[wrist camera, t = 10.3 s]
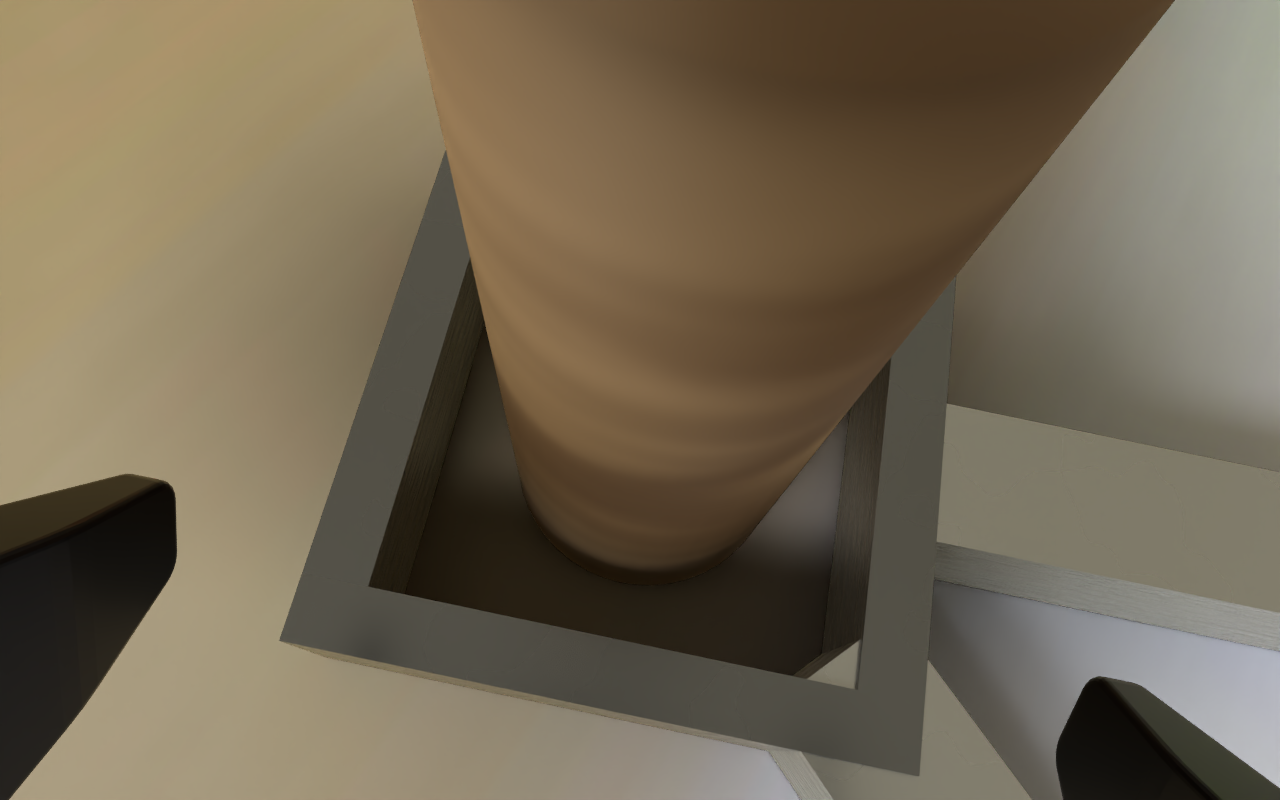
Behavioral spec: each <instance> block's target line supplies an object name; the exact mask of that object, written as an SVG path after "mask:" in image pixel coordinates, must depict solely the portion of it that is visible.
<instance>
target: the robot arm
mask: <svg viewBox="0 0 1280 800" xmlns="http://www.w3.org/2000/svg"><path fill="white" fill-rule="evenodd" d="M176 557H177V534H176V498H175V492H174V490H173V487H172V486H171V485H170V484H169V483H168V482H166V481H163V480H158V479H153V478H149V477H144V476H139V475H134V474H123V475H119V476H115V477H111V478H107V479H103V480H99V481H95V482H91V483H87V484H83V485H79V486H75V487H71V488H67V489H63V490H59V491H55V492H51V493H47V494H43V495H39V496H36V497H32V498H28V499H24V500H20V501H16V502H12V503H8V504H4V505H0V800H9V799H10V798H11V796H12V795H13V794H14V793H15V792H16V790H17V789H18V788H19V787H20V785H21V784H22V783H23V782H24V781H25V779H26V778H27V777H28V776H29V775H30V773H31V772H32V771H33V770H34V768H35V767H36V766H37V765H38V764H39V762H40V761H41V760H42V759H43V757H44V756H45V755H46V754H47V753H48V751H49V750H50V749H51V748H52V746H53V745H54V744H55V743H56V742H57V740H58V739H59V738H60V737H61V735H62V734H63V733H64V732H65V731H66V729H67V728H68V727H69V725H70V724H71V723H72V722H73V720H74V719H75V718H76V717H77V715H78V714H79V713H80V711H81V710H82V709H83V707H84V706H85V705H86V703H87V702H88V700H89V699H90V698H91V696H92V695H93V693H94V692H95V690H96V689H97V688H98V686H99V685H100V683H101V682H102V680H103V679H104V677H105V676H106V674H107V673H108V671H109V670H110V668H111V666H112V665H113V663H114V662H115V660H116V659H117V657H118V656H119V654H120V653H121V651H122V650H123V648H124V647H125V645H126V644H127V642H128V641H129V639H130V638H131V636H132V635H133V633H134V632H135V630H136V629H137V627H138V626H139V624H140V623H141V621H142V619H143V618H144V616H145V615H146V613H147V612H148V610H149V609H150V607H151V606H152V604H153V603H154V601H155V600H156V598H157V597H158V595H159V594H160V592H161V591H162V589H163V588H164V586H165V585H166V583H167V582H168V580H169V578H170V576H171V574H172V572H173V569H174V566H175V563H176ZM1056 766H1057V772H1058V776H1059V781H1060V786H1061V791H1062V796H1063V800H1280V788H1279V787H1277V786H1276V785H1275V784H1273V783H1272V782H1271V781H1269V780H1268V779H1266V778H1265V777H1264V776H1262V775H1261V774H1260V773H1258V772H1257V771H1256V770H1254V769H1253V768H1252V767H1250V766H1249V765H1248V764H1246V763H1245V762H1244V761H1242V760H1241V759H1239V758H1238V757H1237V756H1235V755H1234V754H1233V753H1231V752H1230V751H1229V750H1227V749H1226V748H1225V747H1223V746H1222V745H1221V744H1219V743H1218V742H1217V741H1215V740H1214V739H1212V738H1211V737H1210V736H1208V735H1207V734H1206V733H1204V732H1203V731H1202V730H1200V729H1199V728H1198V727H1196V726H1195V725H1194V724H1192V723H1191V722H1190V721H1188V720H1187V719H1185V718H1184V717H1183V716H1181V715H1180V714H1179V713H1177V712H1176V711H1175V710H1173V709H1172V708H1171V707H1169V706H1168V705H1167V704H1165V703H1164V702H1163V701H1161V700H1160V699H1159V698H1157V697H1156V696H1154V695H1153V694H1152V693H1150V692H1149V691H1148V690H1146V689H1145V688H1143V687H1142V686H1140V685H1138V684H1135V683H1131V682H1126V681H1121V680H1117V679H1112V678H1107V677H1101V676H1098V677H1095V678H1092V679H1090V680H1089V681H1088V682H1087V683H1086V685H1085V686H1084V688H1083V690H1082V692H1081V694H1080V696H1079V698H1078V700H1077V702H1076V704H1075V706H1074V708H1073V711H1072V713H1071V715H1070V717H1069V719H1068V721H1067V723H1066V725H1065V727H1064V729H1063V731H1062V733H1061V736H1060V738H1059V741H1058V745H1057V749H1056Z"/></svg>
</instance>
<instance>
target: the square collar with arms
mask: <svg viewBox="0 0 1280 800" xmlns="http://www.w3.org/2000/svg"><path fill="white" fill-rule="evenodd" d="M955 285H956V276H955V277H954V279H953V280H952V281H951V282H950V284H949V285H948V286H947V287H946V289H945V290H944V291H943V292H942V294H941V295H940V296H939V297H938V299H937V300H936V301H935V302H934V304H933V305H932V306H931V308H930V309H929V310H928V311H927V313H926V314H925V315H924V316H923V318H922V319H921V320H920V321H919V323H918V324H917V325H916V326H915V328H914V329H913V330H912V331H911V333H910V334H909V335H908V336H907V338H906V339H905V340H904V341H903V343H902V344H901V345H900V347H899V348H898V349H897V350H896V352H895V353H894V354H893V355H892V357H891V358H890V359H889V360H888V362H887V363H886V364H885V365H884V367H883V368H882V369H881V370H880V372H879V373H878V374H877V375H876V377H875V378H874V379H873V380H872V382H871V383H870V384H869V385H868V387H867V388H866V389H865V391H864V392H863V393H862V394H861V396H860V397H859V398H858V399H857V401H856V402H855V403H854V404H853V406H852V407H851V408H850V414H849V422H848V431H847V439H846V448H845V456H844V465H843V474H842V482H841V491H840V499H839V508H838V516H837V525H836V533H835V542H834V550H833V559H832V568H831V576H830V585H829V593H828V602H827V610H826V619H825V627H824V636H823V645H822V653H821V655H820V656H818V657H817V658H816V659H814V660H813V661H812V662H810V663H809V664H807V665H806V666H805V667H803V668H802V669H801V670H799V671H798V672H797V673H795V674H794V675H792V676H789V675H785V674H780V673H775V672H770V671H766V670H761V669H756V668H751V667H747V666H742V665H737V664H732V663H728V662H723V661H718V660H713V659H709V658H704V657H699V656H694V655H690V654H685V653H680V652H676V651H671V650H666V649H661V648H657V647H652V646H647V645H642V644H638V643H633V642H628V641H623V640H619V639H614V638H609V637H604V636H600V635H595V634H590V633H585V632H581V631H576V630H571V629H566V628H562V627H557V626H552V625H547V624H543V623H538V622H533V621H529V620H524V619H519V618H514V617H510V616H505V615H500V614H495V613H491V612H486V611H481V610H476V609H472V608H467V607H462V606H457V605H453V604H448V603H443V602H438V601H434V600H429V599H424V598H419V597H415V596H410V595H405V591H406V588H407V584H408V581H409V577H410V574H411V571H412V567H413V564H414V560H415V557H416V554H417V550H418V547H419V543H420V540H421V537H422V533H423V530H424V526H425V523H426V520H427V516H428V513H429V509H430V506H431V502H432V499H433V496H434V492H435V489H436V485H437V482H438V479H439V475H440V472H441V468H442V465H443V462H444V458H445V455H446V451H447V448H448V445H449V441H450V438H451V434H452V431H453V428H454V424H455V421H456V417H457V414H458V411H459V407H460V404H461V400H462V397H463V393H464V390H465V387H466V383H467V380H468V376H469V373H470V370H471V366H472V363H473V359H474V356H475V353H476V349H477V346H478V342H479V339H480V336H481V332H482V329H483V325H484V322H485V321H484V316H483V312H482V307H481V303H480V298H479V294H478V290H477V285H476V281H475V276H474V272H473V267H472V263H471V258H470V254H469V249H468V245H467V241H466V236H465V232H464V227H463V223H462V218H461V214H460V209H459V205H458V201H457V196H456V192H455V187H454V183H453V178H452V174H451V169H450V165H449V160H448V156H447V152H446V151H445V154H444V157H443V160H442V163H441V165H440V168H439V171H438V174H437V177H436V180H435V183H434V186H433V189H432V192H431V195H430V198H429V201H428V204H427V207H426V210H425V213H424V216H423V219H422V221H421V224H420V227H419V230H418V233H417V236H416V239H415V242H414V245H413V248H412V251H411V254H410V257H409V260H408V263H407V266H406V269H405V272H404V275H403V277H402V280H401V283H400V286H399V289H398V292H397V295H396V298H395V301H394V304H393V307H392V310H391V313H390V316H389V319H388V322H387V325H386V328H385V331H384V334H383V336H382V339H381V342H380V345H379V348H378V351H377V354H376V357H375V360H374V363H373V366H372V369H371V372H370V375H369V378H368V381H367V384H366V387H365V390H364V392H363V395H362V398H361V401H360V404H359V407H358V410H357V413H356V416H355V419H354V422H353V425H352V428H351V431H350V434H349V437H348V440H347V443H346V446H345V448H344V451H343V454H342V457H341V460H340V463H339V466H338V469H337V472H336V475H335V478H334V481H333V484H332V487H331V490H330V493H329V496H328V499H327V502H326V504H325V507H324V510H323V513H322V516H321V519H320V522H319V525H318V528H317V531H316V534H315V537H314V540H313V543H312V546H311V549H310V552H309V555H308V558H307V561H306V563H305V566H304V569H303V572H302V575H301V578H300V581H299V584H298V587H297V590H296V593H295V596H294V599H293V602H292V605H291V608H290V611H289V614H288V617H287V619H286V622H285V625H284V628H283V631H282V634H281V637H280V640H279V641H281V642H284V643H287V644H290V645H293V646H296V647H298V648H301V649H304V650H307V651H310V652H313V653H315V654H318V655H321V656H324V657H327V658H332V659H337V660H342V661H346V662H351V663H356V664H360V665H365V666H370V667H375V668H379V669H384V670H389V671H393V672H398V673H403V674H408V675H412V676H417V677H422V678H426V679H431V680H436V681H441V682H445V683H450V684H455V685H459V686H464V687H469V688H474V689H478V690H483V691H488V692H492V693H497V694H502V695H507V696H511V697H516V698H521V699H525V700H530V701H535V702H540V703H544V704H549V705H554V706H558V707H563V708H568V709H573V710H577V711H582V712H587V713H591V714H596V715H601V716H606V717H610V718H615V719H620V720H624V721H629V722H634V723H639V724H643V725H648V726H653V727H657V728H662V729H667V730H672V731H676V732H681V733H686V734H690V735H695V736H700V737H705V738H709V739H714V740H719V741H723V742H728V743H733V744H738V745H742V746H747V747H752V748H756V749H761V750H766V751H769V752H770V754H771V755H772V757H773V758H774V760H775V761H776V763H777V764H778V766H779V767H780V769H781V770H782V772H783V773H784V775H785V776H786V778H787V779H788V781H789V782H790V784H791V785H792V787H793V788H794V790H795V791H796V793H797V794H798V796H799V797H800V799H801V800H1032V799H1031V797H1030V796H1029V795H1028V793H1027V792H1026V791H1025V789H1024V788H1023V787H1022V785H1021V784H1020V783H1019V781H1018V780H1017V779H1016V777H1015V776H1014V775H1013V773H1012V772H1011V771H1010V769H1009V768H1008V766H1007V765H1006V764H1005V762H1004V761H1003V760H1002V758H1001V757H1000V756H999V754H998V753H997V752H996V750H995V749H994V748H993V746H992V745H991V744H990V742H989V741H988V740H987V738H986V737H985V736H984V734H983V733H982V731H981V730H980V729H979V727H978V726H977V725H976V723H975V722H974V721H973V719H972V718H971V717H970V715H969V714H968V713H967V711H966V710H965V709H964V707H963V706H962V705H961V703H960V702H959V701H958V699H957V698H956V696H955V695H954V694H953V692H952V691H951V690H950V688H949V687H948V686H947V684H946V683H945V682H944V680H943V679H942V678H941V676H940V675H939V674H938V672H937V671H936V670H935V668H934V667H933V666H932V664H931V663H930V661H929V660H928V653H929V639H930V625H931V612H932V598H933V585H934V579H935V580H940V581H945V582H950V583H955V584H959V585H964V586H969V587H974V588H979V589H983V590H988V591H993V592H998V593H1002V594H1007V595H1012V596H1017V597H1022V598H1026V599H1031V600H1036V601H1041V602H1046V603H1050V604H1055V605H1060V606H1065V607H1069V608H1074V609H1079V610H1084V611H1089V612H1093V613H1098V614H1103V615H1108V616H1113V617H1117V618H1122V619H1127V620H1132V621H1137V622H1141V623H1146V624H1151V625H1156V626H1160V627H1165V628H1170V629H1175V630H1180V631H1184V632H1189V633H1194V634H1199V635H1204V636H1208V637H1213V638H1218V639H1223V640H1227V641H1232V642H1237V643H1242V644H1247V645H1251V646H1256V647H1261V648H1266V649H1271V650H1275V651H1280V472H1277V471H1272V470H1267V469H1262V468H1257V467H1252V466H1248V465H1243V464H1238V463H1233V462H1228V461H1223V460H1219V459H1214V458H1209V457H1204V456H1199V455H1194V454H1189V453H1185V452H1180V451H1175V450H1170V449H1165V448H1160V447H1155V446H1151V445H1146V444H1141V443H1136V442H1131V441H1126V440H1122V439H1117V438H1112V437H1107V436H1102V435H1097V434H1092V433H1088V432H1083V431H1078V430H1073V429H1068V428H1063V427H1058V426H1054V425H1049V424H1044V423H1039V422H1034V421H1029V420H1024V419H1020V418H1015V417H1010V416H1005V415H1000V414H995V413H991V412H986V411H981V410H976V409H971V408H966V407H961V406H957V405H952V404H947V394H948V380H949V367H950V353H951V340H952V326H953V312H954V299H955Z"/></svg>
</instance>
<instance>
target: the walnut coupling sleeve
mask: <svg viewBox="0 0 1280 800" xmlns="http://www.w3.org/2000/svg"><path fill="white" fill-rule="evenodd" d="M1174 1H1175V0H413V5H414V9H415V14H416V18H417V22H418V27H419V31H420V36H421V40H422V45H423V49H424V54H425V58H426V63H427V67H428V71H429V76H430V80H431V85H432V89H433V94H434V98H435V103H436V107H437V111H438V116H439V120H440V125H441V129H442V134H443V138H444V143H445V147H446V152H447V156H448V160H449V165H450V169H451V174H452V178H453V183H454V187H455V192H456V196H457V201H458V205H459V209H460V214H461V218H462V223H463V227H464V232H465V236H466V241H467V245H468V249H469V254H470V258H471V263H472V267H473V272H474V276H475V281H476V285H477V290H478V294H479V298H480V303H481V307H482V312H483V316H484V321H485V325H486V330H487V334H488V338H489V343H490V347H491V352H492V356H493V361H494V365H495V370H496V374H497V379H498V383H499V387H500V392H501V396H502V401H503V405H504V410H505V414H506V419H507V423H508V428H509V432H510V436H511V441H512V445H513V450H514V454H515V459H516V463H517V468H518V472H519V476H520V481H521V485H522V490H523V494H524V497H525V499H526V502H527V505H528V508H529V510H530V512H531V514H532V516H533V518H534V520H535V521H536V523H537V525H538V526H539V528H540V529H541V530H542V532H543V533H544V535H545V536H546V537H547V539H548V540H549V541H550V542H551V543H552V544H553V545H554V546H555V547H556V548H557V549H558V550H559V551H560V552H561V553H563V554H564V555H565V556H566V557H567V558H569V559H570V560H571V561H573V562H574V563H576V564H578V565H579V566H581V567H582V568H584V569H586V570H588V571H590V572H592V573H594V574H597V575H599V576H601V577H604V578H607V579H611V580H614V581H618V582H623V583H629V584H635V585H659V584H668V583H674V582H678V581H682V580H686V579H689V578H692V577H694V576H697V575H699V574H702V573H704V572H706V571H708V570H710V569H711V568H713V567H715V566H717V565H718V564H720V563H721V562H722V561H724V560H725V559H726V558H728V557H729V556H730V555H732V554H733V553H734V552H735V551H736V550H737V549H738V548H739V547H740V546H741V545H742V544H743V543H744V541H745V540H746V539H747V538H748V536H749V535H750V534H751V533H752V531H753V530H754V529H755V528H756V526H757V525H758V524H759V523H760V521H761V520H762V519H763V518H764V516H765V515H766V514H767V512H768V511H769V510H770V509H771V507H772V506H773V505H774V504H775V502H776V501H777V500H778V499H779V497H780V496H781V495H782V494H783V492H784V491H785V490H786V489H787V487H788V486H789V485H790V484H791V482H792V481H793V480H794V479H795V477H796V476H797V475H798V474H799V472H800V471H801V470H802V468H803V467H804V466H805V465H806V463H807V462H808V461H809V460H810V458H811V457H812V456H813V455H814V453H815V452H816V451H817V450H818V448H819V447H820V446H821V445H822V443H823V442H824V441H825V440H826V438H827V437H828V436H829V435H830V433H831V432H832V431H833V430H834V428H835V427H836V426H837V424H838V423H839V422H840V421H841V419H842V418H843V417H844V416H845V414H846V413H847V412H848V411H849V409H850V408H851V407H852V406H853V404H854V403H855V402H856V401H857V399H858V398H859V397H860V396H861V394H862V393H863V392H864V391H865V389H866V388H867V387H868V385H869V384H870V383H871V382H872V380H873V379H874V378H875V377H876V375H877V374H878V373H879V372H880V370H881V369H882V368H883V367H884V365H885V364H886V363H887V362H888V360H889V359H890V358H891V357H892V355H893V354H894V353H895V352H896V350H897V349H898V348H899V347H900V345H901V344H902V343H903V341H904V340H905V339H906V338H907V336H908V335H909V334H910V333H911V331H912V330H913V329H914V328H915V326H916V325H917V324H918V323H919V321H920V320H921V319H922V318H923V316H924V315H925V314H926V313H927V311H928V310H929V309H930V308H931V306H932V305H933V304H934V302H935V301H936V300H937V299H938V297H939V296H940V295H941V294H942V292H943V291H944V290H945V289H946V287H947V286H948V285H949V284H950V282H951V281H952V280H953V279H954V277H955V276H956V275H957V274H958V272H959V271H960V270H961V269H962V267H963V266H964V265H965V264H966V262H967V261H968V260H969V258H970V257H971V256H972V255H973V253H974V252H975V251H976V250H977V248H978V247H979V246H980V245H981V243H982V242H983V241H984V240H985V238H986V237H987V236H988V235H989V233H990V232H991V231H992V230H993V228H994V227H995V226H996V225H997V223H998V222H999V221H1000V219H1001V218H1002V217H1003V216H1004V214H1005V213H1006V212H1007V211H1008V209H1009V208H1010V207H1011V206H1012V204H1013V203H1014V202H1015V201H1016V199H1017V198H1018V197H1019V196H1020V194H1021V193H1022V192H1023V191H1024V189H1025V188H1026V187H1027V186H1028V184H1029V183H1030V182H1031V181H1032V179H1033V178H1034V177H1035V175H1036V174H1037V173H1038V172H1039V170H1040V169H1041V168H1042V167H1043V165H1044V164H1045V163H1046V162H1047V160H1048V159H1049V158H1050V157H1051V155H1052V154H1053V153H1054V152H1055V150H1056V149H1057V148H1058V147H1059V145H1060V144H1061V143H1062V142H1063V140H1064V139H1065V138H1066V137H1067V135H1068V134H1069V133H1070V131H1071V130H1072V129H1073V128H1074V126H1075V125H1076V124H1077V123H1078V121H1079V120H1080V119H1081V118H1082V116H1083V115H1084V114H1085V113H1086V111H1087V110H1088V109H1089V108H1090V106H1091V105H1092V104H1093V103H1094V101H1095V100H1096V99H1097V98H1098V96H1099V95H1100V94H1101V92H1102V91H1103V90H1104V89H1105V87H1106V86H1107V85H1108V84H1109V82H1110V81H1111V80H1112V79H1113V77H1114V76H1115V75H1116V74H1117V72H1118V71H1119V70H1120V69H1121V67H1122V66H1123V65H1124V64H1125V62H1126V61H1127V60H1128V59H1129V57H1130V56H1131V55H1132V54H1133V52H1134V51H1135V50H1136V48H1137V47H1138V46H1139V45H1140V43H1141V42H1142V41H1143V40H1144V38H1145V37H1146V36H1147V35H1148V33H1149V32H1150V31H1151V30H1152V28H1153V27H1154V26H1155V25H1156V23H1157V22H1158V21H1159V20H1160V18H1161V17H1162V16H1163V15H1164V13H1165V12H1166V11H1167V9H1168V8H1169V7H1170V6H1171V4H1172V3H1173V2H1174Z"/></svg>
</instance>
